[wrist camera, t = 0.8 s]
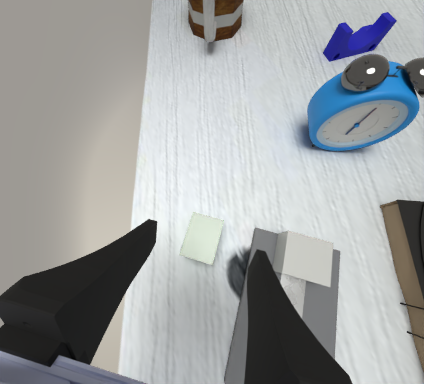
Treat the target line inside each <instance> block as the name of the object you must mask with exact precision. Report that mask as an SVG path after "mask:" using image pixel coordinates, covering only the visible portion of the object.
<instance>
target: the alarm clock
mask: <svg viewBox="0 0 424 384" xmlns="http://www.w3.org/2000/svg"><path fill="white" fill-rule="evenodd" d="M414 88H415V89H414ZM415 90H416V91H417V93H418V94H419V95H420V96H421V97H422V98H423V97H424V58H417V59H414V60H412V61H410V62H408V63H406V64H405V66H402V65H401V64H399V63H395V62H390V61H388V60H387V59H386V58H385V57H384V56H382V55H378V54H369V55H364V56H362V57H359V58H357V59H355V60H354V61H352V62H351V63H350V64H349V65H348V66H347V67H346V68H345V70H344V71H343V72H342V73H340V74H338V75H336V76H335V77H333V78H332V79H330V80H329V81H328V82H326V83H325V84H324V85H323V86H322V87H321V88H320V89H319V90H318V91H317V92H316V93H315V94H314V96H313V97H312V99H311V100H310V103H309V105H308V111H307V113H308V125H309V136H310V139H311V141H312V143H313V145H312V147H314V146H317V147H319V148H322V149H325V150H332V151H345V150H353V149H358V148H363V147H367V146H370V145H373V144H376V143H378V142H381V141H383V140H386V139H388V138H390V137H392V136H393V135H395V134H397V133H398V132H400V131H401V130H403V129H404V128H405V127H407V126H408V125H409V124H410V123H411V122H412V121H413V120H414V118H415V117H416V115H417V113H418V111H419V101H418V98H417V95H416V92H415Z"/></svg>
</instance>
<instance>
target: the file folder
mask: <svg viewBox="0 0 424 384" xmlns="http://www.w3.org/2000/svg"><path fill="white" fill-rule="evenodd" d="M380 208H382V212H383V217H384V221H385V226H386V231H387V235H388V239H389V243H390V247H391V251H392V256H393V261H394V266H395V271H396V275H397V278H398V281H399V284H400V287H401V289H402V292H403V295H404V298H405V301H406V304H404V303H400V304H403V305H407V309H408V313H409V318H410V323H411V328H412V333H411V332H408V331H407V333H409V334H412V335H413V338H414V342H415V346H416V349H417V352H418V355H419V359H420V362H421V365H422V368H423V371H424V202H421V201H407V200H397V201H393V202H390V203H387V204H384V205H381V207H380Z"/></svg>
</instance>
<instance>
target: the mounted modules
mask: <svg viewBox="0 0 424 384" xmlns="http://www.w3.org/2000/svg"><path fill="white" fill-rule="evenodd" d="M332 254H333V243H331V242H328V241H324V240H320V239H317V238H313V237H309V236H306V235H302V234H298V233H295V232H291V231H286V232H283V233H279V234H278V238H277V244H276V250H275V257H274V263H273V269H274V271H275V272H279V273H282V274H286V275H289V276H292V277H296V278H299V279H303V280H306V281H309V282H313V283H316V284H320V285H324V286H327V287H330V285H331V270H332Z"/></svg>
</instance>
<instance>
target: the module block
mask: <svg viewBox="0 0 424 384" xmlns="http://www.w3.org/2000/svg"><path fill="white" fill-rule="evenodd" d="M223 223H224V220H220V219H217V218H213V217H210V216H206V215H202V214H199V213H195V212H193V214H192V217H191V220H190V224H189V227H188V230H187V233H186V236H185V239H184V242H183V245H182V249H181V252H180V256H184V257H187V258H190V259H194V260H197V261H200V262H204V263H207V264H210V265H213V261H214V258H215V254H216V250H217V246H218V242H219V238H220V234H221V231H222V227H223Z"/></svg>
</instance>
